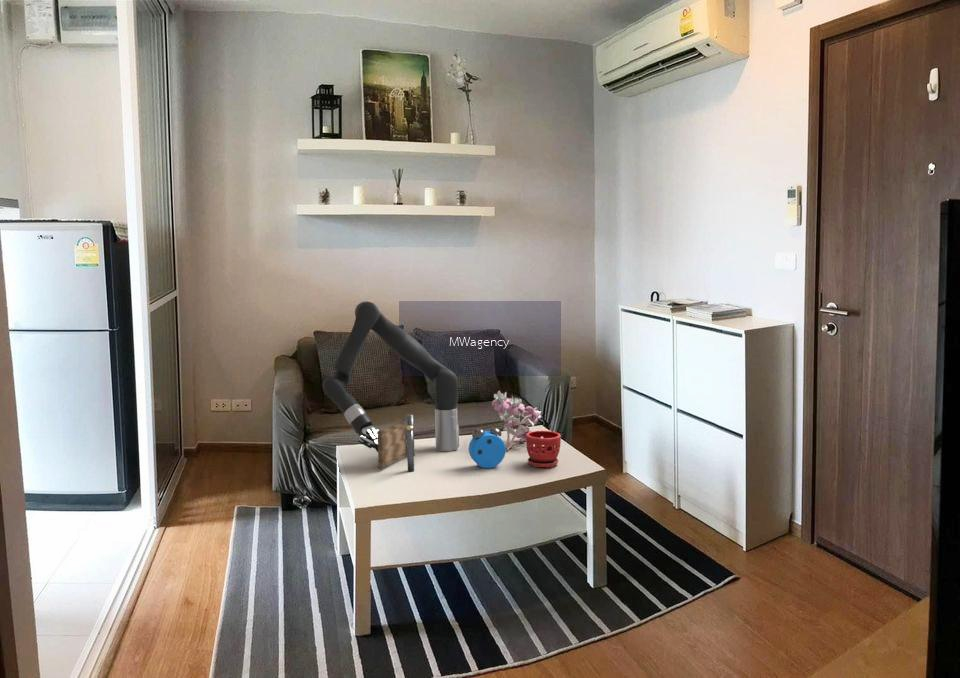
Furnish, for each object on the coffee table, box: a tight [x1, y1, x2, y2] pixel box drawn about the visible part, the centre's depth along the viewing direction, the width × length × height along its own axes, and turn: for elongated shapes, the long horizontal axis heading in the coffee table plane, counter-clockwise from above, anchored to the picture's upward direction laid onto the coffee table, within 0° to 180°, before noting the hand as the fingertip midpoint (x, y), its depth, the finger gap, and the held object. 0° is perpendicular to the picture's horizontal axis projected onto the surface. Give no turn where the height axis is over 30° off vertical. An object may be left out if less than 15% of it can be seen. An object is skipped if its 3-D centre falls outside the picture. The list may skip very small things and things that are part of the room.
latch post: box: [406, 425, 415, 473], centre depth 266 cm, size 3×3×17 cm
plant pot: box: [525, 430, 562, 468], centre depth 271 cm, size 13×13×12 cm
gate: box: [377, 418, 407, 469], centre depth 274 cm, size 19×2×15 cm, turn 155°
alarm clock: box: [468, 427, 507, 469], centre depth 269 cm, size 13×6×15 cm, turn 107°
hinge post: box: [406, 413, 416, 456], centre depth 284 cm, size 3×3×17 cm
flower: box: [491, 390, 542, 451], centre depth 297 cm, size 20×22×25 cm
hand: (383, 453), depth 271 cm, fingers closed
